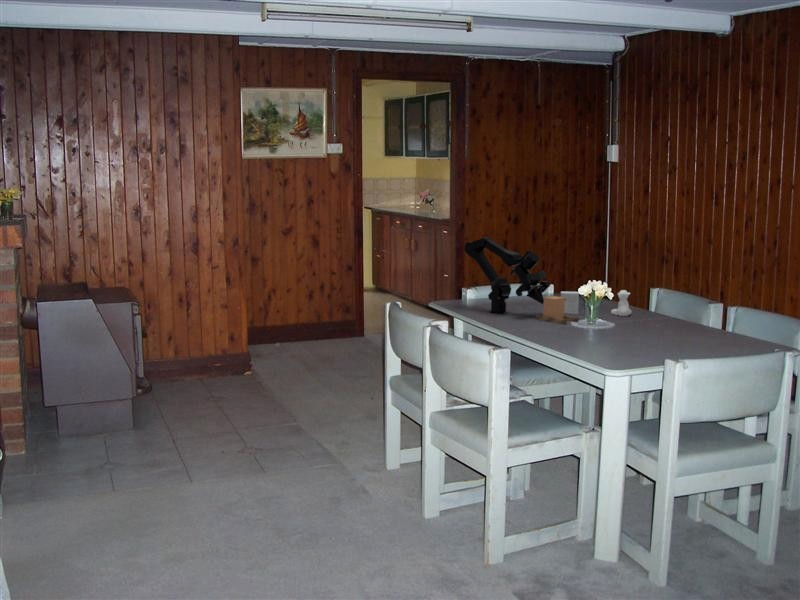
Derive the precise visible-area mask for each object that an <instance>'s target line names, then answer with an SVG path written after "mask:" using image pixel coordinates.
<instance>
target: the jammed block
mask: <svg viewBox="0 0 800 600" xmlns="http://www.w3.org/2000/svg"><path fill="white" fill-rule="evenodd" d="M543 299H544V303H543V311H542V313H543V314H542V316H546V317H551V318H557V319H563V320H564V315H565V313H564V303H565V298H564V297H560V296H556V295H553V296H546V297H545V296H543Z"/></svg>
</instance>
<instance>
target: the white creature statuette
mask: <svg viewBox="0 0 800 600" xmlns="http://www.w3.org/2000/svg"><path fill="white" fill-rule="evenodd" d="M630 295H631V292H628V291H627V290H625V289H621V290H620V291H619V292H617V296H618V298H619V301H618V304H617V308H613V309H611V311H610V313H611V314H612V315H614V314H615V316H617V315H619V316H618V317H629V316H630V315H631V314H632V310H631V309H630V306H629V305H630V303H629V301H628V298H629V296H630ZM628 315H629V316H628Z"/></svg>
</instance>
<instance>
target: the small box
mask: <svg viewBox="0 0 800 600" xmlns="http://www.w3.org/2000/svg"><path fill="white" fill-rule="evenodd" d="M579 295H580V294H579V292H578V291H569V290H568V291H566V290H565V291H560V295H559V297H564V298H565V303H564V314H570V315H571V314H572V315H573V314H574V315H579V302H580V301H579V300H580V299H579V298H580V296H579Z"/></svg>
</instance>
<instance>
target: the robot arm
mask: <svg viewBox="0 0 800 600" xmlns="http://www.w3.org/2000/svg"><path fill="white" fill-rule="evenodd" d="M485 249H487V250H488V251H490V252H491V253H493V254H495V255H496V256H497V257H499V258H500V259H501V261H502V262H503V264H504V265H505V266H507V267H513V268H511V270H510V275H511V276H512V275H516V278H518V280H519V281H518V283H519V284H520V285H519V286H518V287H517V288H516V290H515V295H516V296H517V297H522V296H523V293H524V292H526V293H527V294H526V297H528V298H530V299H532V300H535V301H536V302H538V303H539V304H541V305H542V304H543V305H544V296H543V293H544V292H546V291H547V289H548V288H549V287H550V286H551V283H550V281H549V280H544V279H546V278H547V273H546V272H545V270H543V269H542V270H540V271H537V272H535V273H531V272H530V270H532V269H533V268H534V267H535V266H536V265H537V264H538V263H539V262H540V257H539V255H538V254H537V253H535V252H532V250H527V251H526V253H525V254H524V255H523V256H522V255H521V254H520V253H518V252H516V251H512V250H508V249H506V248H505V247H503V246H502V245H500V244H499V243H498V242H496V241H494V240H493V239H492V238H491V237H489V236H488V237H481V238H479V239H477V240H474V241H467V242H466V243H465V245H464V252H465V253H466V255H467V256H468V257H470V258H471V259H473V260H475V262H476V264H477V265H478V266H479V268H480V269H481V271H482V272H483V274H484V275H485V277H486V278H487V281H489V283H490V289H491V291H490V292H489V294H488V295H487V296H488V299H489V300H491V303H490V305H491V307H490V309H491V310H490V311H489V312H491V314H505V313H506V312H507V309H508V302H506V301H507V300H508V299H509V297H510V295H511V293H512V287H511V283H509V282H508V279H507V278H505V277H504V278H501V277H500V276H499V275H498V272H497V271H496V270H495V268H494V267H493V265H492V264H491V263H490V260H488V258H487V256H486V255H485ZM541 280H543V281H541Z"/></svg>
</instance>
